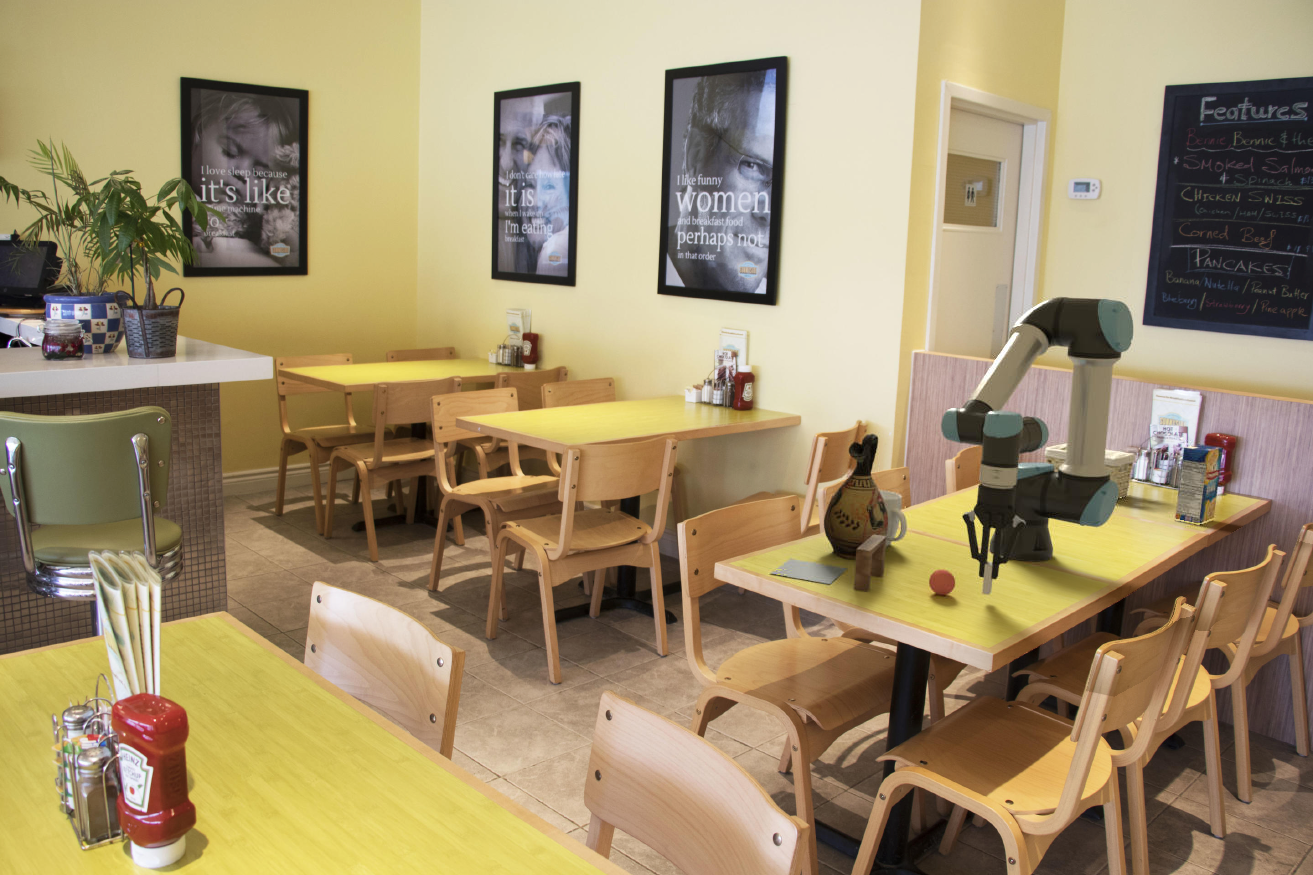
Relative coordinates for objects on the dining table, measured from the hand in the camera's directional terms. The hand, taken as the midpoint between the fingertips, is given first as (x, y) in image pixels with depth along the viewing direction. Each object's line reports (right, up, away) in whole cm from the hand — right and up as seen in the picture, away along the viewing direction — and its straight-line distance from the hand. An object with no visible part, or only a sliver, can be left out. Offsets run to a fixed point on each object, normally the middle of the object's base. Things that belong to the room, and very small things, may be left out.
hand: (986, 592), depth 220 cm
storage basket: (+70, +14, +116) cm, 136 cm away
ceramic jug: (-22, +4, +34) cm, 41 cm away
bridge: (-23, +1, +11) cm, 26 cm away
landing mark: (-35, +2, +17) cm, 40 cm away
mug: (-14, +6, +43) cm, 46 cm away
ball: (-8, +2, +4) cm, 10 cm away
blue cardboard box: (+88, +8, +84) cm, 122 cm away
